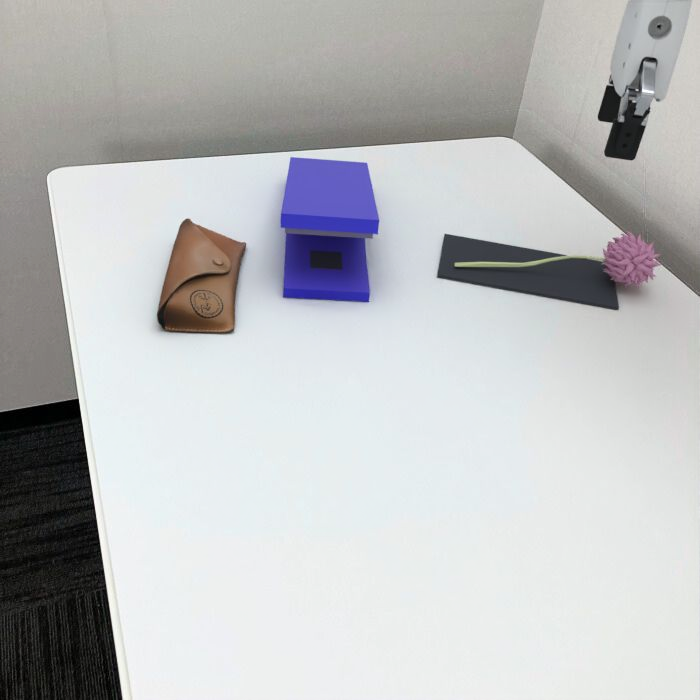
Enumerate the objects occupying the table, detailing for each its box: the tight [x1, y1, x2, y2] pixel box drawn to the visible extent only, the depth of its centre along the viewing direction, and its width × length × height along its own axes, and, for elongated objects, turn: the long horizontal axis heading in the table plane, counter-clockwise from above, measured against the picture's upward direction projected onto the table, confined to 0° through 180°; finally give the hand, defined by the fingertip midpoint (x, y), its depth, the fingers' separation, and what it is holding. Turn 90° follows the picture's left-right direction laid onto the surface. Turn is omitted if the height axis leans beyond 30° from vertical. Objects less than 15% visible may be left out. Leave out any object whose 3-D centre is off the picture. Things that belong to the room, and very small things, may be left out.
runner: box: [436, 233, 620, 311], centre depth 97 cm, size 22×10×1 cm, turn 80°
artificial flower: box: [455, 230, 662, 289], centre depth 95 cm, size 7×7×25 cm
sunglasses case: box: [156, 218, 247, 334], centre depth 88 cm, size 18×7×7 cm
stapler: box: [280, 156, 380, 303], centre depth 97 cm, size 12×28×10 cm, turn 2°
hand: (614, 138), depth 85 cm, fingers open, 9 cm apart
